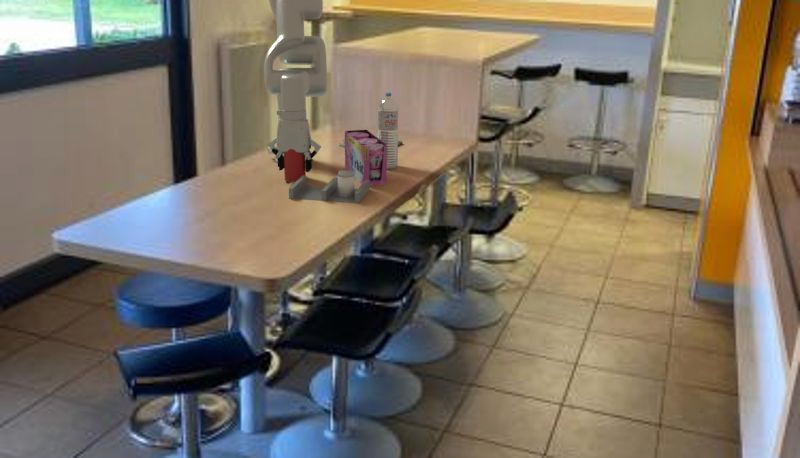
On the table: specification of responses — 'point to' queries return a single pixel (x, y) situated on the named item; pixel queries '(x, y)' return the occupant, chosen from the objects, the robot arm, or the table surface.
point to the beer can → (294, 165)
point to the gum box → (366, 157)
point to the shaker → (346, 183)
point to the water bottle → (389, 128)
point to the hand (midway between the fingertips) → (294, 170)
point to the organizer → (325, 191)
